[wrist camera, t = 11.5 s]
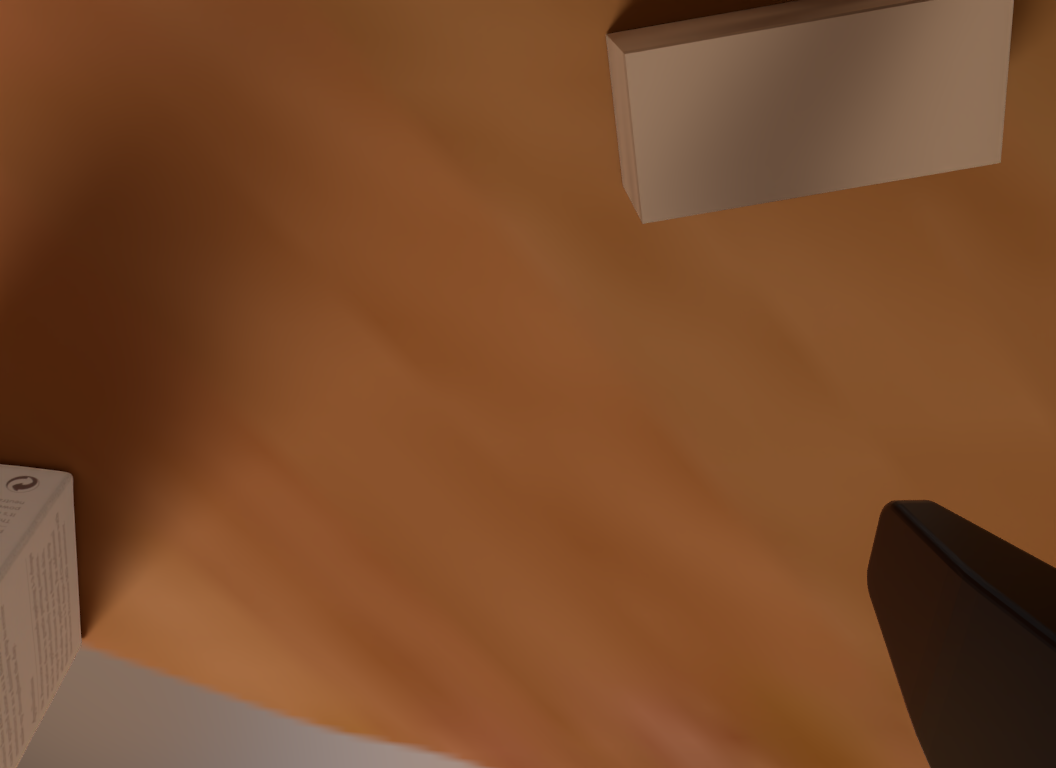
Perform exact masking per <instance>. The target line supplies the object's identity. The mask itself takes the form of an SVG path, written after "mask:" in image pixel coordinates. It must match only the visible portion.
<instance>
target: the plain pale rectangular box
mask: <svg viewBox="0 0 1056 768" xmlns="http://www.w3.org/2000/svg"><path fill="white" fill-rule="evenodd" d="M1013 6H1014V0H797V1H792V2H786V3H780V4H775V5H769V6H763V7H758V8H752V9H746V10H741V11H735V12H729V13H724V14H718V15H712V16H707V17H701V18H695V19H689V20H684V21H678V22H672V23H667V24H661V25H655V26H650V27H644V28H638V29H633V30H627V31H621V32H616V33H610V34H606V41H607V50H608V58H609V67H610V76H611V85H612V94H613V103H614V112H615V120H616V129H617V138H618V147H619V156H620V165H621V174H622V182H623V187H624V189H625V191H626V193H627V194H628V196H629V198H630V200H631V202H632V204H633V206H634V208H635V210H636V212H637V214H638V216H639V218H640V220H641V221H642V223H643V224H644V223H650V222H656V221H662V220H668V219H673V218H679V217H685V216H691V215H697V214H703V213H709V212H715V211H720V210H726V209H732V208H738V207H744V206H750V205H756V204H762V203H767V202H773V201H779V200H785V199H791V198H797V197H803V196H808V195H814V194H820V193H826V192H832V191H838V190H844V189H850V188H855V187H861V186H867V185H873V184H879V183H885V182H891V181H897V180H902V179H908V178H914V177H920V176H926V175H932V174H938V173H944V172H949V171H955V170H961V169H967V168H973V167H979V166H985V165H990V164H996V163H1001V151H1002V139H1003V127H1004V115H1005V102H1006V90H1007V78H1008V66H1009V54H1010V42H1011V30H1012V18H1013Z"/></svg>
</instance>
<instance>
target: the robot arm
mask: <svg viewBox="0 0 1056 768" xmlns="http://www.w3.org/2000/svg"><path fill="white" fill-rule="evenodd" d="M867 585H868V590H869V594H870V598H871V601H872V604H873V607H874V610H875V613H876V616H877V619H878V622H879V625H880V628H881V631H882V634H883V637H884V640H885V643H886V646H887V649H888V652H889V656H890V659H891V662H892V665H893V668H894V671H895V674H896V677H897V680H898V683H899V686H900V689H901V692H902V695H903V698H904V701H905V704H906V707H907V710H908V713H909V716H910V719H911V721H912V724H913V727H914V730H915V732H916V735H917V737H918V740H919V742H920V744H921V747H922V749H923V751H924V754H925V756H926V758H927V761H928V763H929V765H930V767H931V768H1056V568H1054V567H1052V566H1051V565H1049V564H1047V563H1045V562H1043V561H1041V560H1040V559H1038V558H1036V557H1034V556H1032V555H1030V554H1029V553H1027V552H1025V551H1023V550H1021V549H1019V548H1017V547H1016V546H1014V545H1012V544H1010V543H1008V542H1006V541H1005V540H1003V539H1001V538H999V537H997V536H995V535H994V534H992V533H990V532H988V531H986V530H984V529H983V528H981V527H979V526H977V525H975V524H973V523H972V522H970V521H968V520H966V519H964V518H962V517H961V516H959V515H957V514H955V513H953V512H951V511H950V510H948V509H946V508H944V507H942V506H940V505H938V504H937V503H935V502H932V501H929V500H901V501H891V502H889V503H888V504H886V505H885V506H884V508H883V509H882V512H881V514H880V518H879V522H878V526H877V530H876V535H875V539H874V543H873V547H872V552H871V556H870V560H869V564H868V570H867Z"/></svg>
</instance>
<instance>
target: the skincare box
mask: <svg viewBox="0 0 1056 768" xmlns="http://www.w3.org/2000/svg"><path fill="white" fill-rule="evenodd" d="M81 644H82V640H81V626H80V606H79V588H78V568H77V552H76V534H75V515H74V494H73V476H72V474H70V473H68V472H63V471H56V470H48V469H40V468H32V467H24V466H14V465H3V464H0V768H17V766H18V764H19V762H20V760H21V758H22V756H23V754H24V753H25V751H26V749H27V747H28V745H29V743H30V741H31V739H32V737H33V735H34V733H35V732H36V730H37V728H38V726H39V724H40V722H41V720H42V719H43V717H44V715H45V713H46V711H47V709H48V707H49V705H50V704H51V702H52V700H53V698H54V696H55V694H56V692H57V690H58V688H59V686H60V685H61V683H62V681H63V679H64V677H65V675H66V673H67V672H68V670H69V668H70V666H71V664H72V662H73V660H74V658H75V656H76V654H77V652H78V650H79V648H80V646H81Z"/></svg>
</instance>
